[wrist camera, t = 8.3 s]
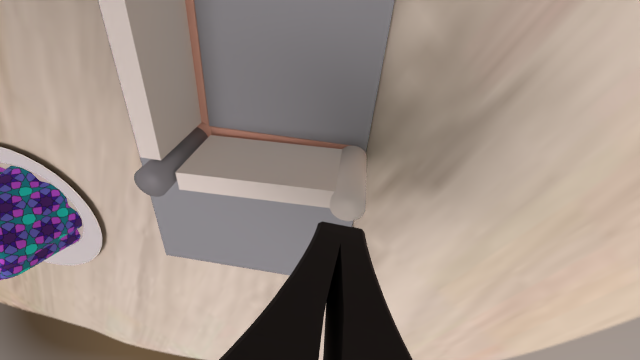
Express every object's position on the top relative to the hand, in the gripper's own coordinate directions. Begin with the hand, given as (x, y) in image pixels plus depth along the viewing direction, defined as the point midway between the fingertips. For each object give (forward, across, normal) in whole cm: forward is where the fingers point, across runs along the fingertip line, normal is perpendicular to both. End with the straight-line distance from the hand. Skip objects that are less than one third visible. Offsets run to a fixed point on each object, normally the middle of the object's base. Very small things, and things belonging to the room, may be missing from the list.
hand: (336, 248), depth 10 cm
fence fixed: (+9, +9, -2) cm, 13 cm away
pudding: (+10, +23, +12) cm, 28 cm away
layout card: (+9, +6, +2) cm, 11 cm away
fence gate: (+9, +3, +2) cm, 9 cm away
